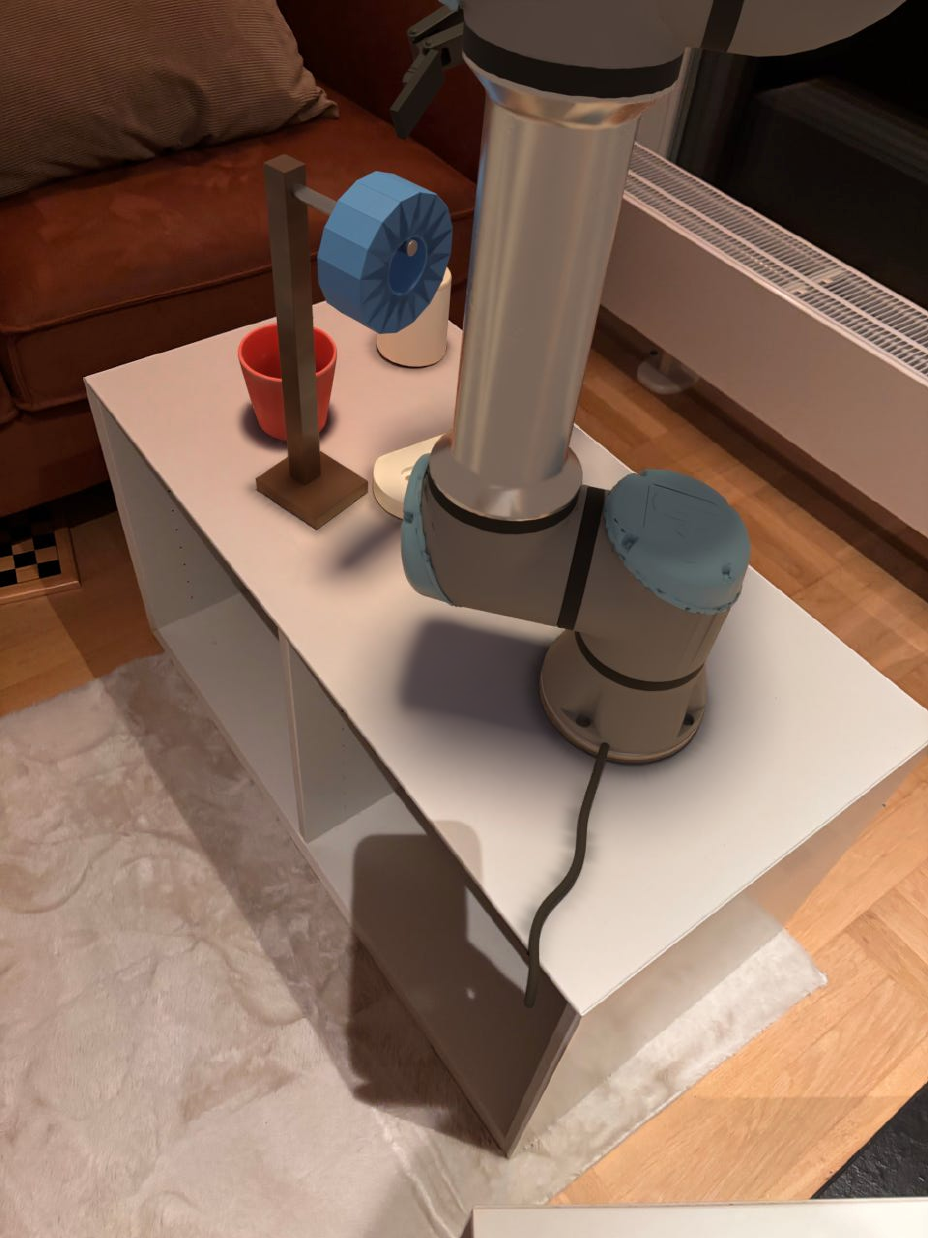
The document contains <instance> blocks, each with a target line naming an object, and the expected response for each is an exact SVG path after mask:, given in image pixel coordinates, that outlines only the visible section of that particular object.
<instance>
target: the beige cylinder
mask: <svg viewBox="0 0 928 1238" xmlns="http://www.w3.org/2000/svg"><path fill="white" fill-rule="evenodd" d="M451 290H452V273H451V270H450V269H449V267H447V268H446V271H445V274H444V277H443V281H442V283H441V285H440V286H439V288H438V290H437V292H436V294H435V296H434V298H433V299H432V301H431V303H430V305H428V307H427V308H426V309H425V310H424V311H423V312H422V313H421V315H420V316H419V317H418V318H417V319H416V320H415V321H414V323H412V324H410V325H409V326H407V327H405V328H404V329H402V330H400V331H399V332H397V333H387V334H379V333H377V332H376V340H375V341H376V342H375V343H376V348H377V350H378V352H379V354H381V355H382V356H383V357H384V358H385V359H387V360H389V361H390V362H393V363H396V364H399V365H402V366H406V367H407V366H408V367H426V366H430V365H433V364H436V363H437V362H439V361H441V360H442V359H443V358H444V357H445V355H446V351H447V343H448V342H447V340H448V328H449V318H450V317H449V315H450V301H451Z"/></svg>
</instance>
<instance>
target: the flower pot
mask: <svg viewBox="0 0 928 1238" xmlns="http://www.w3.org/2000/svg"><path fill="white" fill-rule="evenodd" d="M314 345H315V365H316V385H317V405H318V425H319V433H320V432H321V431H322V430H323V429H324V427H325V425H326V422H327V418H328V413H329V406H330V401H331V395H332V390H333V383H334V380H335V379H334V378H335V373H336V367H337V360H338V349H337V348H338V347H337V345H336V342H335V341H334V340H333V338H332V337H331V336H330V335H329V334H328V333H326V331H324V330H323V329H321V328H319V327H316V326H314ZM237 359H238V363H239V366H240V369H241V373H242V376H243V380H244V383H245V386H246V389H247V393H248V396H249V399H250V402H251V405H252V407H253V410H254V414H255V416H256V419H257V421H258V424H259V427H260V428H261V430H262V431H263V432H264V433H265V434H267V435H268V436H270V437H272V438H274V439H277V440H280V441H285V442H287V437H286V425H285V413H284V402H283V390H282V378H281V366H280V354H279V343H278V331H277V322H274V323H269V324H264V325H262V326H259V327H257V328H254V329H253V330H251V331H250V332H248V333H247V334H246V335H245V336H243V338H242V339H241V341H240V342H239V345H238V348H237Z"/></svg>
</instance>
